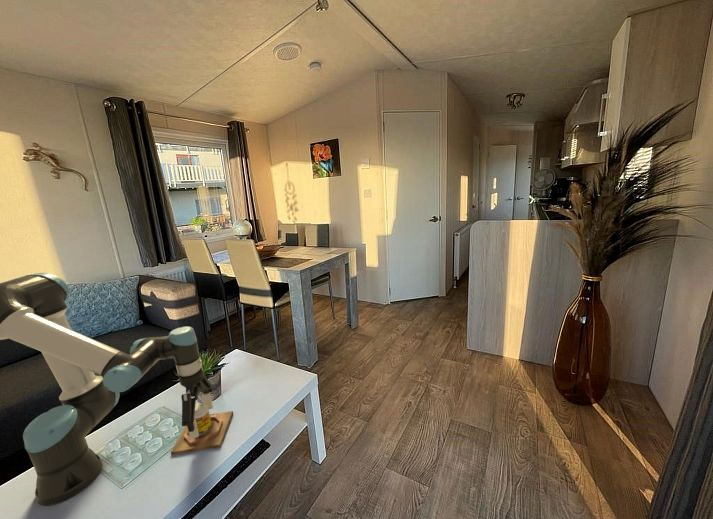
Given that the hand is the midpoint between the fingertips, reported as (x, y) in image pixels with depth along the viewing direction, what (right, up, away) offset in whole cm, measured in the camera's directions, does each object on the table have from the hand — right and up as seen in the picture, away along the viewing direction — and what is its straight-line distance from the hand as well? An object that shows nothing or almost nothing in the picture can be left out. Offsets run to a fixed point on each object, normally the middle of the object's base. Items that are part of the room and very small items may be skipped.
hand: (202, 421), depth 107 cm
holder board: (0, -5, +1) cm, 5 cm away
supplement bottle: (0, -4, +1) cm, 4 cm away
